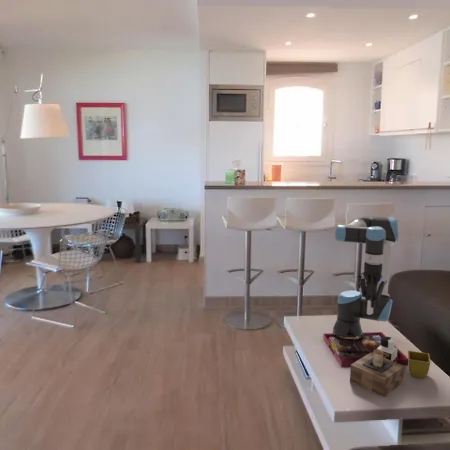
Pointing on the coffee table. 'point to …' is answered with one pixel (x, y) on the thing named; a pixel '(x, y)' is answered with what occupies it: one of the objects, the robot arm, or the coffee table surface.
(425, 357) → the flower pot
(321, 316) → the coffee table surface
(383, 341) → the medicine bottle
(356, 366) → the socket block
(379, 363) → the peg
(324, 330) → the coffee table surface
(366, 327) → the coffee table surface
